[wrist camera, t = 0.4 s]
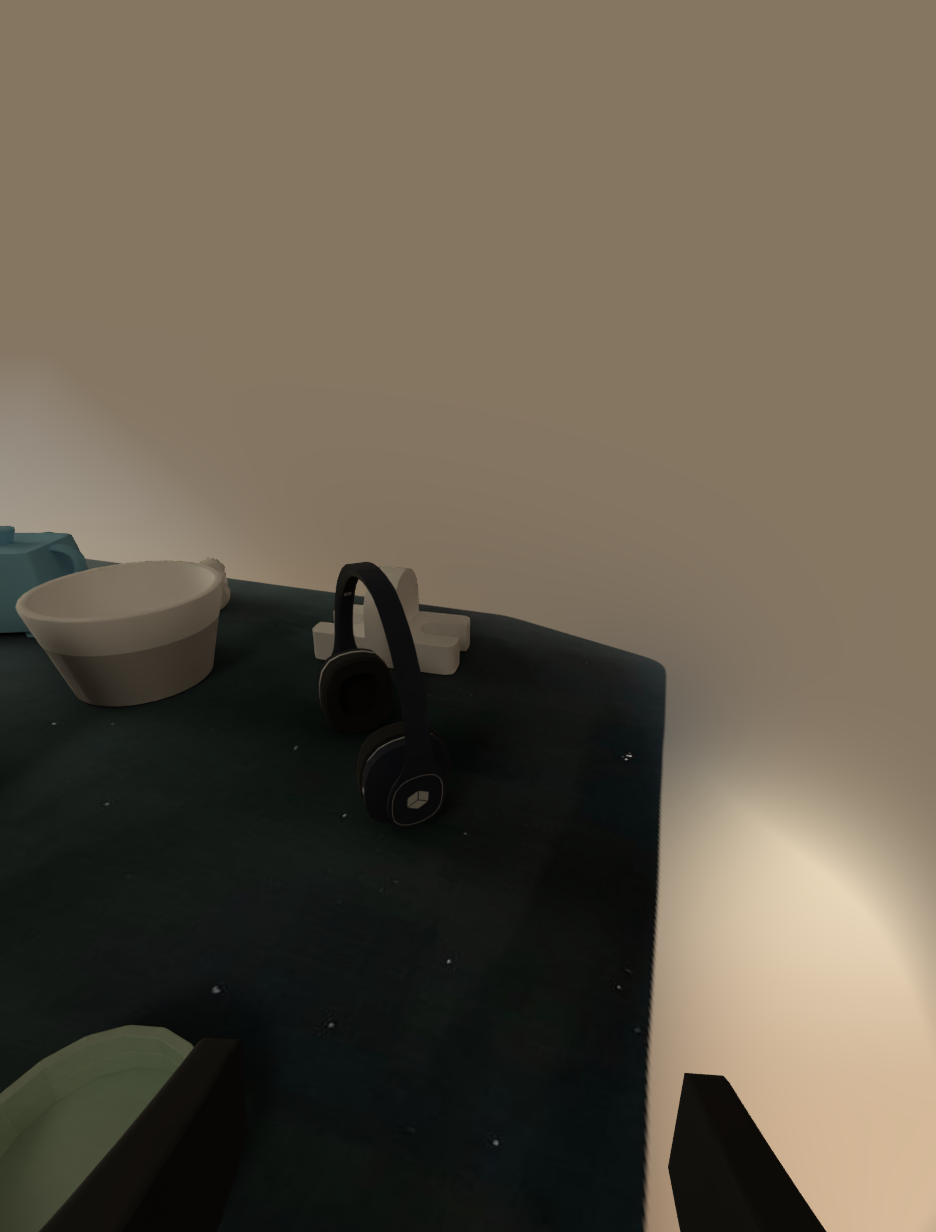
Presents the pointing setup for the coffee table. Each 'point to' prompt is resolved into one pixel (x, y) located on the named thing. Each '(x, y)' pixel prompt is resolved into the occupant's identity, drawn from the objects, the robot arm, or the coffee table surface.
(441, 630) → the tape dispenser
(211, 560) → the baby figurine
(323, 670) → the earphone
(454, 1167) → the coffee table surface
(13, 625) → the teapot
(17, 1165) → the celadon bowl
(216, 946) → the coffee table surface
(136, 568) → the bowl
